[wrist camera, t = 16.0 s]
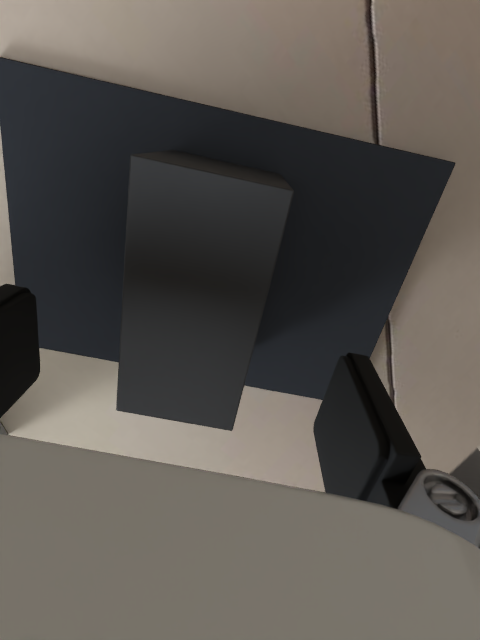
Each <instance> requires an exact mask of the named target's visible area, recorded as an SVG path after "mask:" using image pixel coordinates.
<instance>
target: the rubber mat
mask: <svg viewBox="0 0 480 640" xmlns="http://www.w3.org/2000/svg"><path fill="white" fill-rule="evenodd" d="M0 127H1V137H2V148H3V158H4V169H5V180H6V190H7V201H8V212H9V222H10V233H11V243H12V254H13V265H14V275H15V286H20V287H25V288H28V289H29V290H30V292H31V294H34V295H35V297H36V305H37V322H38V338H39V348H44V349H49V350H55V351H60V352H66V353H71V354H77V355H82V356H87V357H93V358H98V359H104V360H109V361H115V362H119V351H120V333H121V315H122V297H123V279H124V261H125V243H126V224H127V206H128V188H129V170H130V156H131V155H132V154H141V153H150V152H158V151H167V150H175V151H180V152H184V153H189V154H193V155H198V156H202V157H207V158H211V159H216V160H220V161H225V162H229V163H234V164H238V165H243V166H247V167H252V168H256V169H260V170H265V171H269V172H274V173H278V174H281V176H282V177H283V178H284V179H285V181H286V182H287V183H288V184H289V186H290V187H291V188H292V189H293V190H294V194H293V197H292V201H291V205H290V209H289V213H288V217H287V221H286V225H285V228H284V232H283V236H282V240H281V244H280V248H279V252H278V256H277V259H276V263H275V267H274V271H273V275H272V279H271V283H270V287H269V290H268V294H267V298H266V302H265V306H264V310H263V314H262V318H261V321H260V325H259V329H258V333H257V337H256V341H255V345H254V349H253V352H252V356H251V360H250V364H249V368H248V372H247V376H246V379H245V383H244V385H245V386H250V387H256V388H261V389H267V390H272V391H278V392H283V393H288V394H294V395H299V396H305V397H310V398H316V399H321V400H323V398H324V396H325V393H326V391H327V388H328V386H329V383H330V380H331V378H332V375H333V373H334V370H335V367H336V365H337V362H338V360H339V358H340V356H346V354H347V353H349V352H350V353H355V354H360V355H365V356H368V357H369V359H370V356H371V354H372V352H373V349H374V347H375V345H376V343H377V340H378V338H379V336H380V334H381V331H382V329H383V327H384V324H385V322H386V320H387V318H388V315H389V313H390V311H391V309H392V306H393V304H394V302H395V299H396V297H397V295H398V293H399V290H400V288H401V286H402V284H403V281H404V279H405V277H406V275H407V272H408V270H409V268H410V265H411V263H412V261H413V259H414V256H415V254H416V252H417V250H418V247H419V245H420V243H421V240H422V238H423V236H424V234H425V231H426V229H427V227H428V225H429V222H430V220H431V218H432V215H433V213H434V211H435V209H436V206H437V204H438V202H439V200H440V197H441V195H442V193H443V190H444V188H445V186H446V184H447V181H448V179H449V177H450V175H451V172H452V170H453V168H454V166H455V163H454V162H450V161H445V160H441V159H437V158H432V157H428V156H424V155H419V154H415V153H411V152H406V151H402V150H398V149H394V148H389V147H385V146H381V145H376V144H372V143H368V142H363V141H359V140H355V139H350V138H346V137H342V136H337V135H333V134H329V133H324V132H320V131H316V130H312V129H307V128H303V127H299V126H294V125H290V124H286V123H281V122H277V121H273V120H268V119H264V118H260V117H255V116H251V115H247V114H243V113H238V112H234V111H230V110H225V109H221V108H217V107H212V106H208V105H204V104H199V103H195V102H191V101H186V100H182V99H178V98H174V97H169V96H165V95H161V94H156V93H152V92H148V91H143V90H139V89H135V88H130V87H126V86H122V85H117V84H113V83H109V82H105V81H100V80H96V79H92V78H87V77H83V76H79V75H74V74H70V73H66V72H61V71H57V70H53V69H48V68H44V67H40V66H36V65H31V64H27V63H23V62H18V61H14V60H10V59H5V58H1V57H0Z"/></svg>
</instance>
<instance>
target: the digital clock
mask: <svg viewBox="0 0 480 640" xmlns="http://www.w3.org/2000/svg"><path fill="white" fill-rule="evenodd" d="M293 194H294V190H293V189H292V188H291V187H290V186H289V184H288V183H287V182H286V181H285V179H284V178H283V177H282V176H281V174H278V173H274V172H269V171H265V170H260V169H256V168H252V167H247V166H243V165H238V164H234V163H229V162H225V161H220V160H216V159H211V158H207V157H202V156H198V155H193V154H189V153H184V152H180V151H175V150H167V151H158V152H150V153H141V154H132V155H131V156H130V170H129V188H128V206H127V224H126V243H125V261H124V279H123V297H122V315H121V333H120V351H119V369H118V388H117V406H116V410H117V411H122V412H128V413H134V414H139V415H145V416H151V417H156V418H162V419H168V420H173V421H179V422H185V423H190V424H196V425H202V426H207V427H213V428H219V429H224V430H230V431H232V430H233V426H234V422H235V418H236V414H237V410H238V407H239V403H240V399H241V395H242V391H243V387H244V383H245V379H246V376H247V372H248V368H249V364H250V360H251V356H252V352H253V349H254V345H255V341H256V337H257V333H258V329H259V325H260V321H261V318H262V314H263V310H264V306H265V302H266V298H267V294H268V290H269V287H270V283H271V279H272V275H273V271H274V267H275V263H276V259H277V256H278V252H279V248H280V244H281V240H282V236H283V232H284V228H285V225H286V221H287V217H288V213H289V209H290V205H291V201H292V197H293Z"/></svg>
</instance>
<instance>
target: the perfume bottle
mask: <svg viewBox="0 0 480 640" xmlns="http://www.w3.org/2000/svg"><path fill="white" fill-rule="evenodd" d="M0 434H4V435H8V434H7V432H6V430H5V429H4V427H3V425H2V424H1V422H0Z"/></svg>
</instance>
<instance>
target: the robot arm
mask: <svg viewBox="0 0 480 640" xmlns="http://www.w3.org/2000/svg"><path fill="white" fill-rule="evenodd" d="M39 373H40V355H39V338H38V322H37V305H36V297H35V295H34V294H31V292H30V290H29V289H28V288H25V287H20V286H15V285H10V284H4V285H2V286H0V418H1V417H2V416H3V415H4V414H5V413H6V412H7V411H8V409H9V408H10V407H11V406H12V405H13V404H14V403H15V402H16V401H17V400H18V399H19V398H20V397H21V396H22V395H23V394H24V393H25V392H26V390H27V389H28V388H29V387H30V386H31V385H32V384H33V383H34V382H35V381H36V380H37V378H38V376H39ZM314 436H315V441H316V447H317V452H318V457H319V462H320V467H321V472H322V477H323V482H324V487H325V492H326V493H325V492H319V491H314V490H309V489H303V488H298V487H292V486H287V485H282V484H276V483H271V482H265V481H260V480H255V479H249V478H244V477H238V476H233V475H228V474H222V473H216V472H211V471H205V470H200V469H194V468H188V467H183V466H177V465H172V464H166V463H161V462H155V461H149V460H144V459H138V458H133V457H127V456H121V455H116V454H110V453H105V452H99V451H94V450H88V449H82V448H77V447H71V446H66V445H60V444H55V443H49V442H43V441H38V440H32V439H27V438H21V437H16V436H10V435H4V434H0V640H480V500H479V498H478V497H477V496H476V494H475V493H474V492H473V491H472V490H471V489H470V488H469V487H468V486H466V485H465V484H464V483H462V482H461V481H460V480H458V479H457V478H455V477H453V476H451V475H449V474H448V473H445V472H442V471H439V470H434V469H426V468H425V466H424V464H423V462H422V460H421V455H420V453H419V452H418V450H417V448H416V446H415V444H414V442H413V440H412V438H411V436H410V435H409V433H408V431H407V429H406V427H405V425H404V423H403V421H402V419H401V418H400V416H399V414H398V412H397V410H396V408H395V406H394V404H393V402H392V401H391V399H390V397H389V395H388V393H387V391H386V389H385V387H384V385H383V384H382V382H381V380H380V378H379V376H378V374H377V372H376V370H375V368H374V367H373V365H372V363H371V361H370V359H369V357H368V356H365V355H360V354H355V353H350V352H349V353H347V354H346V356H340V358H339V360H338V362H337V365H336V367H335V370H334V373H333V375H332V378H331V380H330V383H329V386H328V388H327V391H326V393H325V396H324V398H323V401H322V404H321V406H320V409H319V411H318V414H317V417H316V419H315V422H314Z"/></svg>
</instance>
